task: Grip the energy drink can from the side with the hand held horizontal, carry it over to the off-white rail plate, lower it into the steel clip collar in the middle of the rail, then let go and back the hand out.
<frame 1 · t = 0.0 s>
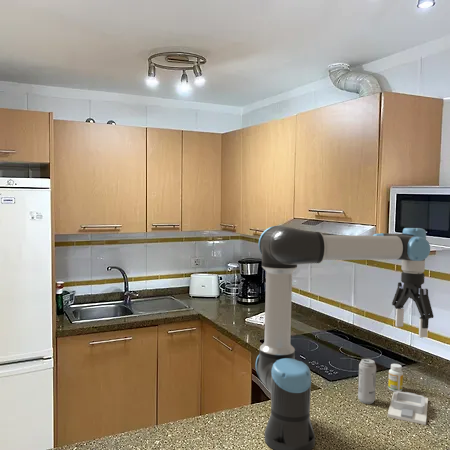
hand: (410, 331, 156), 28 cm above the worktop, tool pointing down, fingers open, 13 cm apart
energy drink can: (366, 401, 163), on the worktop
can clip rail: (408, 408, 158), on the worktop
supplement bottle: (395, 389, 175), on the worktop
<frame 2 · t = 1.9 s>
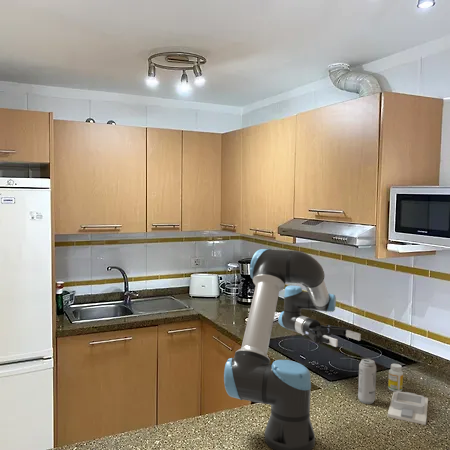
hand: (348, 340, 170), 20 cm above the worktop, tool horizontal, fingers open, 13 cm apart
nothing on the worktop moved.
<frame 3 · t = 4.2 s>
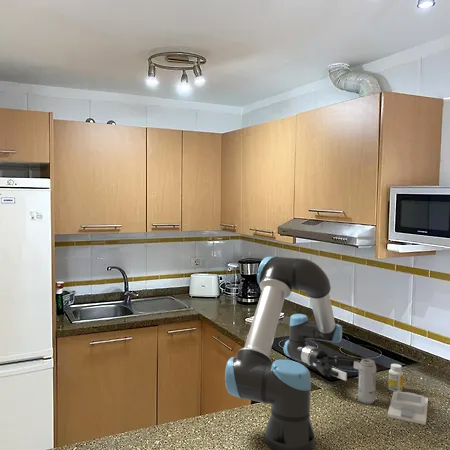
hand: (357, 373, 167), 9 cm above the worktop, tool horizontal, fingers open, 13 cm apart
nothing on the worktop moved.
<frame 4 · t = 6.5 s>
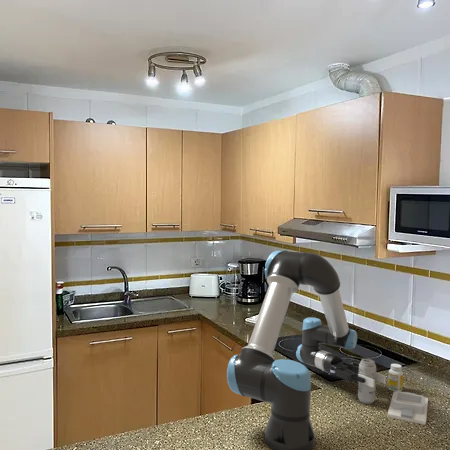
hand: (379, 381, 159), 9 cm above the worktop, tool horizontal, fingers closed on energy drink can, 6 cm apart
energy drink can: (366, 401, 163), on the worktop, touching gripper
everything else where it was.
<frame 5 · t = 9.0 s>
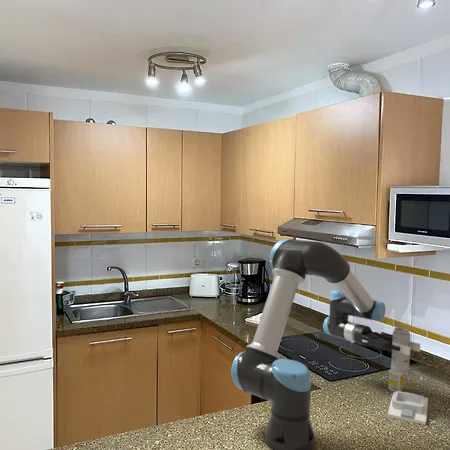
hand: (414, 349, 155), 22 cm above the worktop, tool horizontal, fingers closed on energy drink can, 6 cm apart
energy drink can: (400, 370, 160), point 13 cm above the worktop, touching gripper
everything else where it was.
when the fingers open (11 cm above the worktop, at t = 11.6 s): energy drink can drops 1 cm, resting on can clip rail.
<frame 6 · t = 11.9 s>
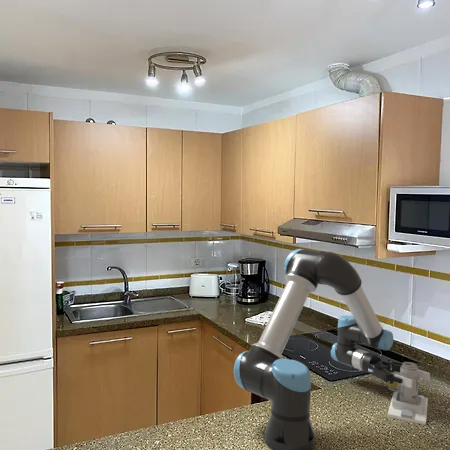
hand: (420, 380, 154), 11 cm above the worktop, tool horizontal, fingers open, 10 cm apart
energy drink can: (408, 405, 158), point 1 cm above the worktop, touching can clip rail
everything else where it was.
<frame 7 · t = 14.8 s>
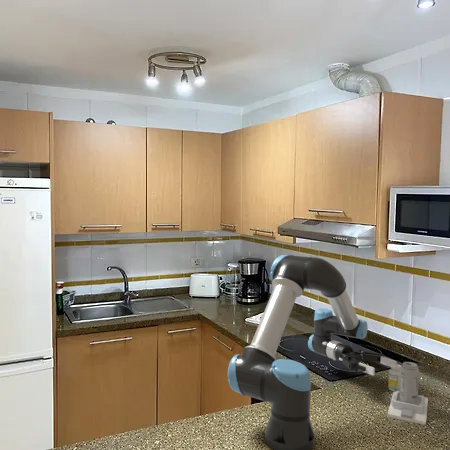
hand: (385, 368, 165), 12 cm above the worktop, tool horizontal, fingers open, 13 cm apart
nothing on the worktop moved.
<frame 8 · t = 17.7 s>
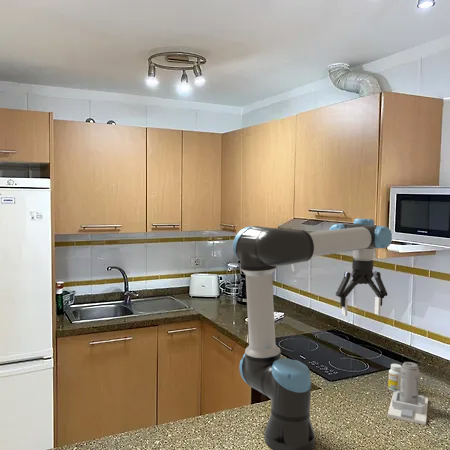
hand: (361, 314, 168), 31 cm above the worktop, tool pointing down, fingers open, 13 cm apart
nothing on the worktop moved.
at the end: energy drink can 0.0 cm off-centre on the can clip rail, point 0.8 cm above the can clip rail's base; energy drink can tilted 0°; the gripper is holding nothing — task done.
